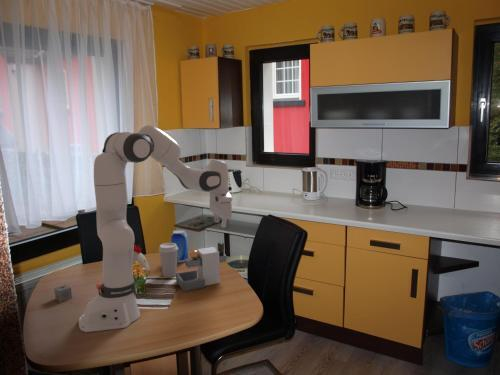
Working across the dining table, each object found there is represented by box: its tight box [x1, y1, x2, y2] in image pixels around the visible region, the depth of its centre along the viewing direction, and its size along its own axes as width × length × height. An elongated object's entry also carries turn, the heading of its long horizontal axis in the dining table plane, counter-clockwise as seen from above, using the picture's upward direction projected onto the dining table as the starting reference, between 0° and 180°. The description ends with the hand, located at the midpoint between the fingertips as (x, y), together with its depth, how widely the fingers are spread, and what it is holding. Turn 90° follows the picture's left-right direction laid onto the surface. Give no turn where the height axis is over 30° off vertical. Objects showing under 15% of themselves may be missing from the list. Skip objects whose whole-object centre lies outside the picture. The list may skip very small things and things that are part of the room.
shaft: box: [185, 241, 227, 268], centre depth 194 cm, size 18×4×8 cm, turn 114°
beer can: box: [170, 229, 189, 264], centre depth 224 cm, size 8×8×16 cm
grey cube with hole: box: [53, 284, 73, 303], centre depth 180 cm, size 5×5×5 cm
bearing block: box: [196, 246, 221, 286], centre depth 196 cm, size 8×8×15 cm
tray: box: [175, 269, 206, 293], centre depth 193 cm, size 10×13×4 cm
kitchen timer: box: [133, 244, 151, 273], centre depth 207 cm, size 14×14×15 cm
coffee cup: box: [157, 242, 178, 278], centre depth 204 cm, size 10×10×15 cm
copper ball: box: [189, 249, 199, 259], centre depth 192 cm, size 4×4×4 cm
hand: (220, 224), depth 195 cm, fingers open, 8 cm apart
